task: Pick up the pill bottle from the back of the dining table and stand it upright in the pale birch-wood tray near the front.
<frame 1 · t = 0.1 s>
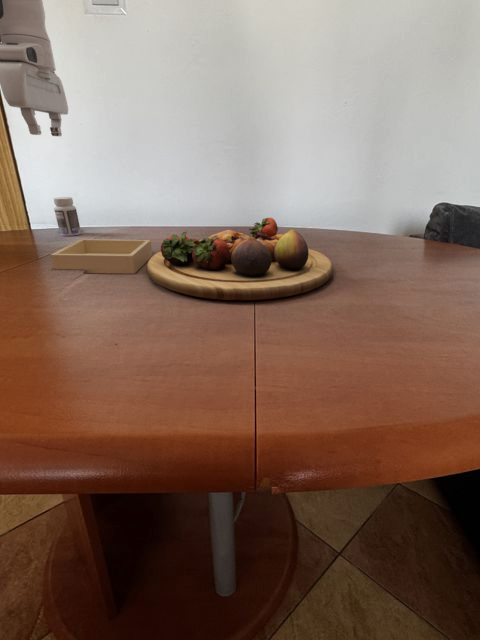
hand: (47, 135, 84), 21 cm above the table, tool pointing down, fingers open, 8 cm apart
pill bottle: (71, 235, 93), on the table
tray: (107, 263, 70), on the table
wooden plate: (241, 272, 67), on the table
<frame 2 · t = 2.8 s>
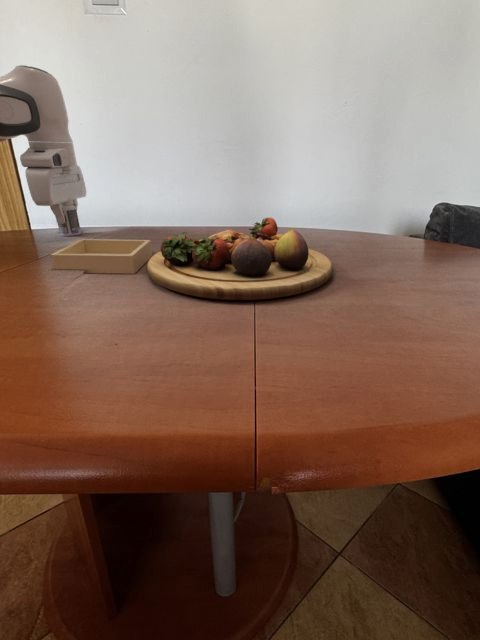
hand: (68, 221, 91), 3 cm above the table, tool pointing down, fingers closed on pill bottle, 5 cm apart
pill bottle: (71, 235, 93), on the table, touching gripper
everything else where it was.
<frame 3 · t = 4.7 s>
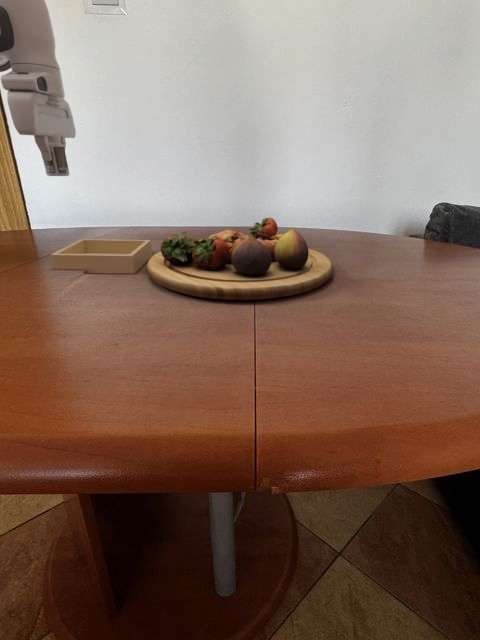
hand: (55, 160, 84), 16 cm above the table, tool pointing down, fingers closed on pill bottle, 5 cm apart
pill bottle: (58, 176, 86), point 13 cm above the table, touching gripper
everything else where it was.
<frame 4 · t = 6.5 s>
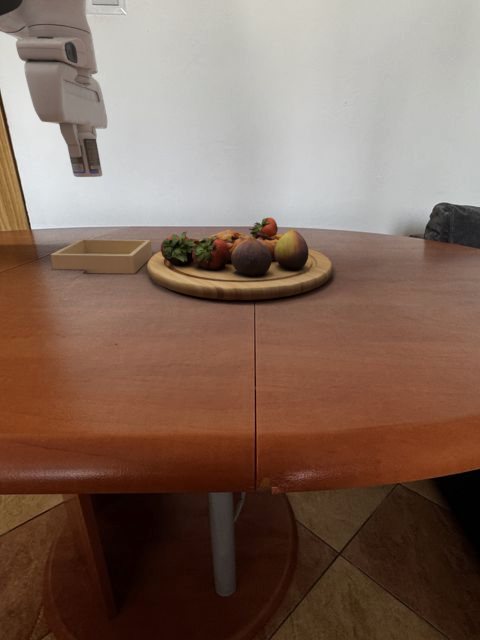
hand: (84, 156, 65), 18 cm above the table, tool pointing down, fingers closed on pill bottle, 5 cm apart
pill bottle: (88, 177, 67), point 14 cm above the table, touching gripper
everything else where it was.
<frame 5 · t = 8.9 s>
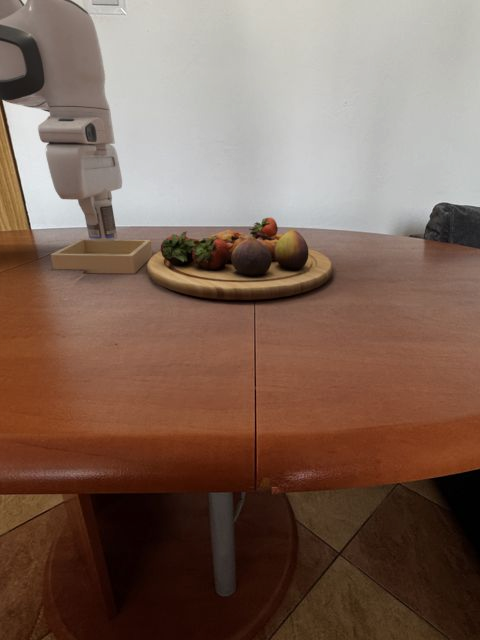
hand: (100, 221, 66), 7 cm above the table, tool pointing down, fingers closed on pill bottle, 5 cm apart
pill bottle: (103, 240, 68), point 4 cm above the table, touching gripper
everything else where it was.
when the fingers open (4 cm above the table, at t = 10.4 s): pill bottle stays where it is, resting on tray.
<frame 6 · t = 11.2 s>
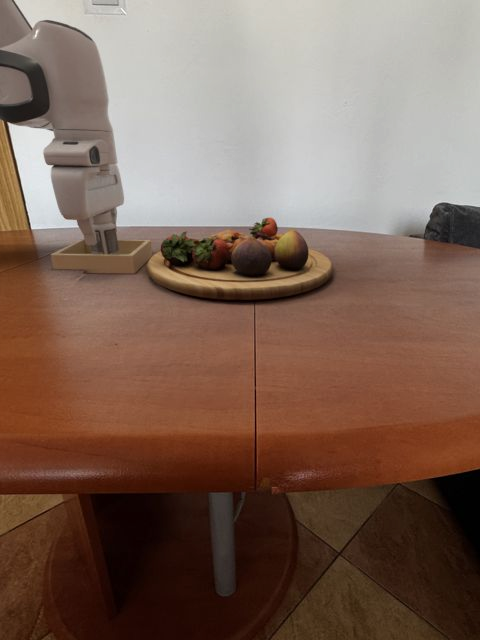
hand: (102, 238, 68), 5 cm above the table, tool pointing down, fingers open, 8 cm apart
pill bottle: (107, 261, 70), resting on tray
everything else where it was.
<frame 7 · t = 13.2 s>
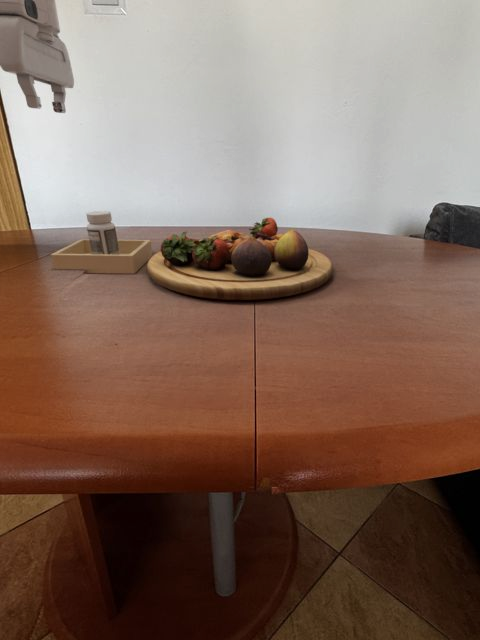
hand: (48, 110, 71), 25 cm above the table, tool pointing down, fingers open, 8 cm apart
nothing on the table moved.
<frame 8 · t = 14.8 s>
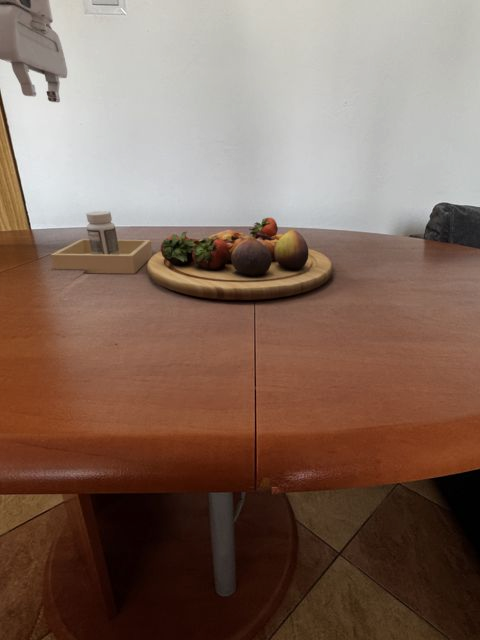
hand: (42, 99, 73), 27 cm above the table, tool pointing down, fingers open, 8 cm apart
nothing on the table moved.
at the end: pill bottle inside the target area in the tray (0.0 cm from its centre), point 0.4 cm above the tray's base; pill bottle tilted 0°; the gripper is holding nothing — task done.
